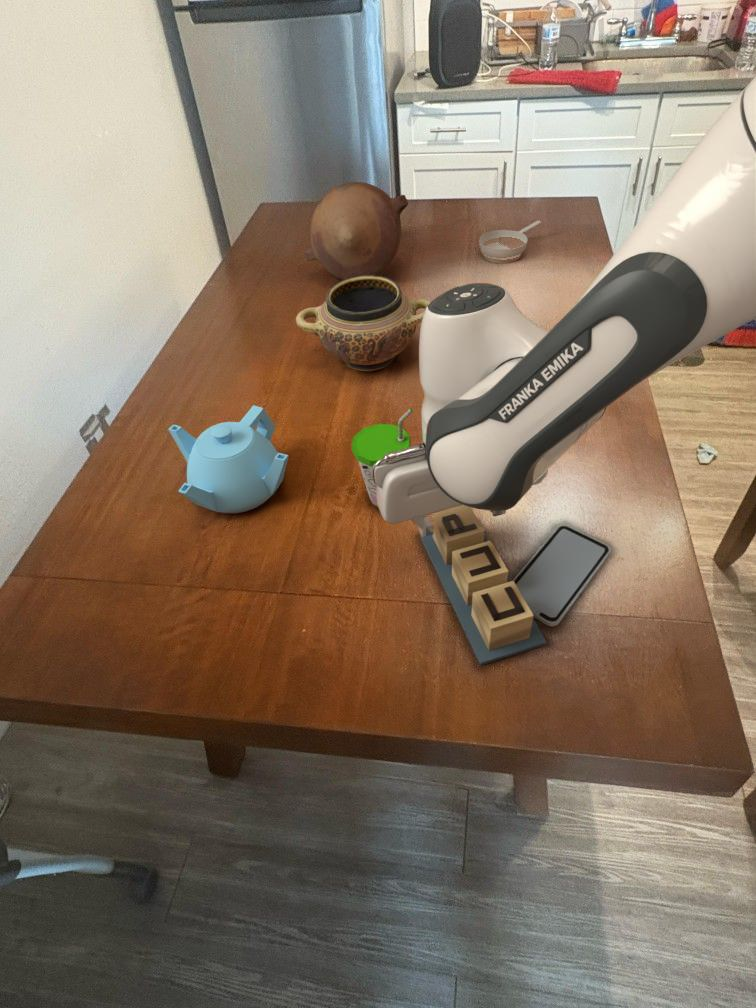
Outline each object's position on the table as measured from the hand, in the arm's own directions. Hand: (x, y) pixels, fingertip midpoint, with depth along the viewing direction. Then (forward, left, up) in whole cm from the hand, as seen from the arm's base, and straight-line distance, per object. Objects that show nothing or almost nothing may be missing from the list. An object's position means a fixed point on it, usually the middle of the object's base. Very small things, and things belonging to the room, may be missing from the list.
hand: (461, 522), depth 75 cm
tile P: (+1, 0, -5) cm, 5 cm away
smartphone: (-7, -10, -6) cm, 14 cm away
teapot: (+23, +26, -6) cm, 35 cm away
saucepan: (+80, -45, -6) cm, 92 cm away
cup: (+13, +6, -6) cm, 15 cm away
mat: (-6, 0, -6) cm, 8 cm away
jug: (+87, -12, -6) cm, 88 cm away
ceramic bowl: (+49, -2, -6) cm, 49 cm away
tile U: (-6, 0, -5) cm, 8 cm away
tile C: (-12, 0, -5) cm, 13 cm away
